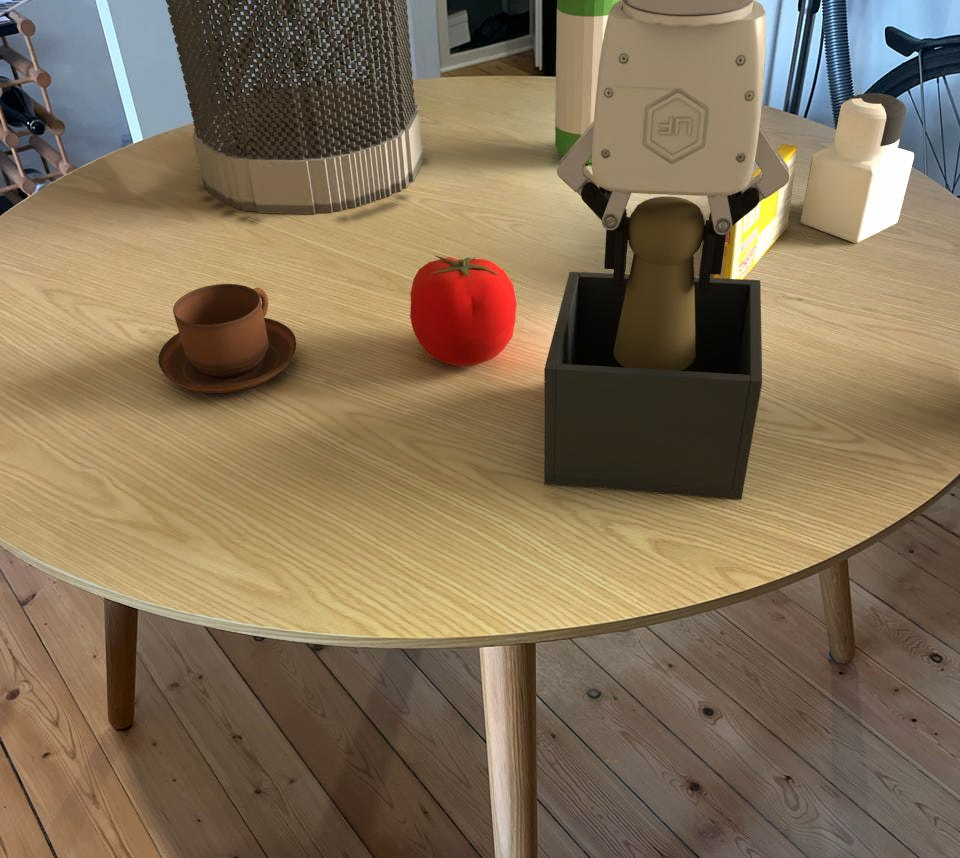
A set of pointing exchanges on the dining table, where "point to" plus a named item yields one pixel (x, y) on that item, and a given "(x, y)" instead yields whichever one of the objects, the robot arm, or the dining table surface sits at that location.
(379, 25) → the wastebasket
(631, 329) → the brown pawn
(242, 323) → the cup and saucer
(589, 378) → the bin
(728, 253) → the candy box
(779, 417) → the dining table surface
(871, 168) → the medicine bottle
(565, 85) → the wine bottle
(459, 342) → the tomato
